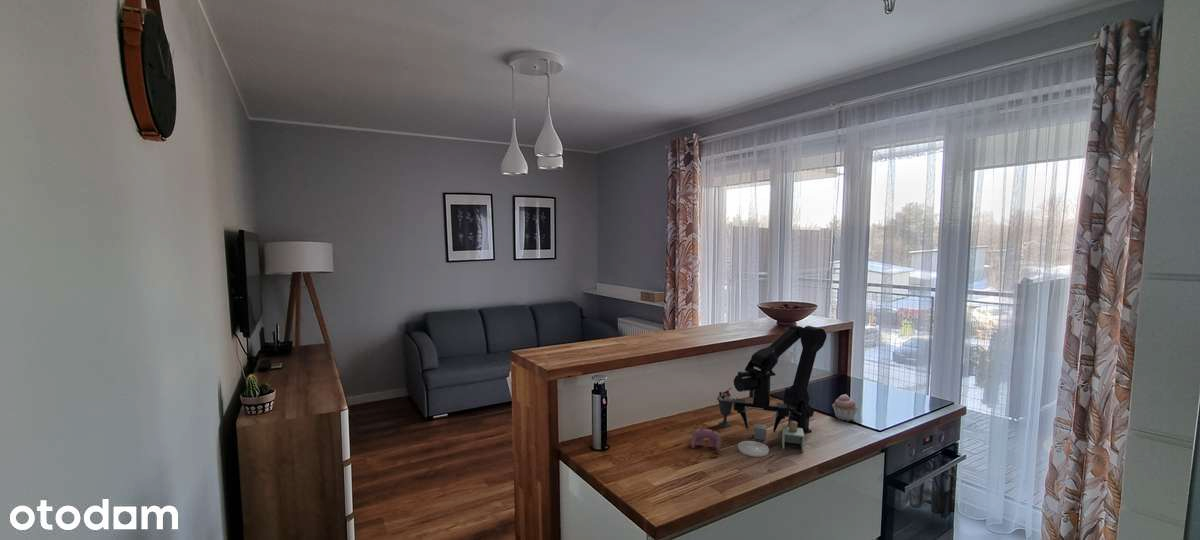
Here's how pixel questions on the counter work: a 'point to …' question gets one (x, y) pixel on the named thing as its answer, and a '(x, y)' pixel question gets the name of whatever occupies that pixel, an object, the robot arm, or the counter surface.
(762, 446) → the saucer
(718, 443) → the video game controller
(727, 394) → the sundae
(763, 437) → the slate cube
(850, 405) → the cupcake
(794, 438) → the sage camera
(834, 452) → the counter surface
